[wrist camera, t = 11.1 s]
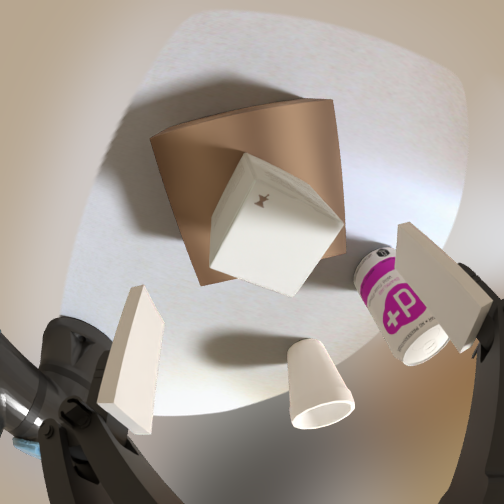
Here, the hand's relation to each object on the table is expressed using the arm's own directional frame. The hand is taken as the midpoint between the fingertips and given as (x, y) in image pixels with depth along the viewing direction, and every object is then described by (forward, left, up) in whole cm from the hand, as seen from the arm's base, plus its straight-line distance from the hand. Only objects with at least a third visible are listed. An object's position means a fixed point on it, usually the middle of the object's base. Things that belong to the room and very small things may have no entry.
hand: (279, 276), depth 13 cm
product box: (0, 0, -10) cm, 10 cm away
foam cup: (+3, -31, -18) cm, 36 cm away
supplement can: (+15, -17, -18) cm, 29 cm away
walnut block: (0, 0, -18) cm, 18 cm away
